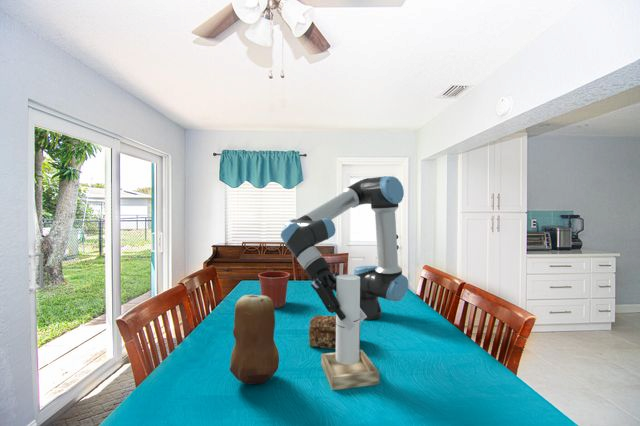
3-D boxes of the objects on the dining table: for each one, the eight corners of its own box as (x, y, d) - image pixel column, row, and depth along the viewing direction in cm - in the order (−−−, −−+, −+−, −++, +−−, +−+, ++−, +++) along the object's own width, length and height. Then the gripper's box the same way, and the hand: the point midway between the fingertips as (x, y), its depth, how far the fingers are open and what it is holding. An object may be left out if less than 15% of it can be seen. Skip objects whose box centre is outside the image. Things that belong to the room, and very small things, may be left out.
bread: (308, 348, 109) (308, 320, 109) (313, 336, 119) (313, 311, 119) (359, 352, 106) (360, 324, 106) (360, 339, 117) (360, 313, 116)
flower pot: (296, 303, 160) (296, 273, 160) (275, 312, 146) (275, 279, 146) (272, 298, 169) (272, 269, 168) (251, 306, 155) (251, 275, 154)
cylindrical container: (358, 366, 87) (359, 280, 87) (333, 363, 89) (334, 279, 88) (359, 354, 94) (360, 275, 94) (337, 351, 96) (338, 273, 95)
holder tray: (362, 360, 100) (362, 349, 100) (379, 384, 86) (379, 372, 86) (321, 364, 97) (321, 353, 97) (332, 390, 83) (332, 377, 83)
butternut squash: (268, 364, 97) (268, 287, 97) (286, 384, 86) (286, 297, 85) (224, 376, 90) (224, 293, 89) (238, 401, 78) (238, 306, 78)
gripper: (322, 266, 108) (363, 320, 99) (288, 276, 91) (333, 342, 82) (336, 252, 105) (379, 307, 96) (302, 260, 88) (351, 327, 80)
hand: (358, 323), depth 89 cm, fingers closed on cylindrical container, 7 cm apart
